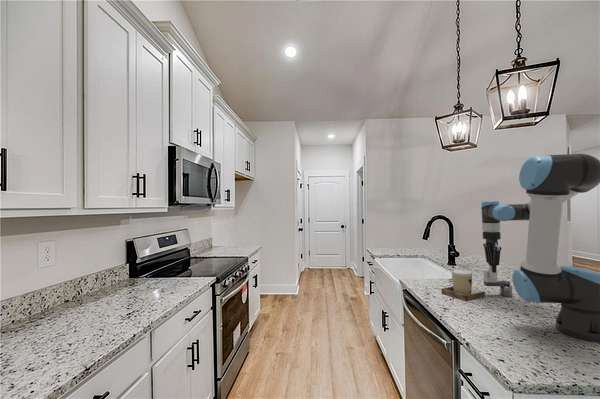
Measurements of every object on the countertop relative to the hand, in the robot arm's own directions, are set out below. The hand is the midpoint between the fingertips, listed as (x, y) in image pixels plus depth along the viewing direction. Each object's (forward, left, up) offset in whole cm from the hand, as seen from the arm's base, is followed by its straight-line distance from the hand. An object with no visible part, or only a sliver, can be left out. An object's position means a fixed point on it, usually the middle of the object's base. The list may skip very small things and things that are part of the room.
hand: (493, 278), depth 145 cm
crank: (0, -4, -4) cm, 6 cm away
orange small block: (+14, -7, -9) cm, 18 cm away
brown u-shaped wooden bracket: (+9, +10, -9) cm, 17 cm away
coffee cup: (+10, +10, -10) cm, 17 cm away
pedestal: (-2, -7, -9) cm, 12 cm away
